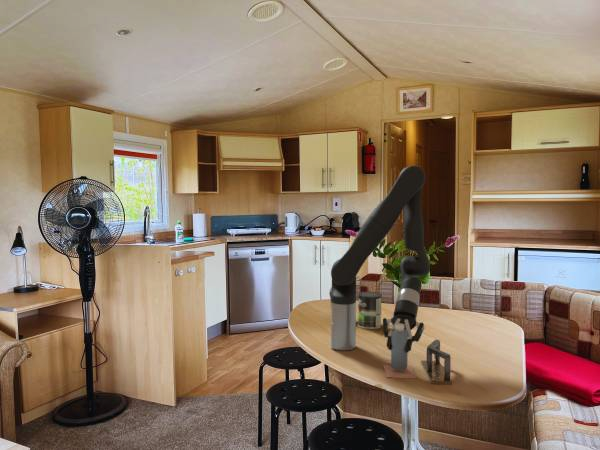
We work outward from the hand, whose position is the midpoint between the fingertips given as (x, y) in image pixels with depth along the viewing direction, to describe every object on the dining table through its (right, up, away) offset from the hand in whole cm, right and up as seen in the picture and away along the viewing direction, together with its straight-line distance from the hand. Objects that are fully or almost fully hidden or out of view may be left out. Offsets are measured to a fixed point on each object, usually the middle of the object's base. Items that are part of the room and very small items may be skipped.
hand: (398, 349), depth 149 cm
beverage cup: (-14, -3, +67) cm, 68 cm away
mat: (+1, -8, +2) cm, 8 cm away
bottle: (+1, -6, +2) cm, 6 cm away
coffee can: (-1, -4, +54) cm, 54 cm away
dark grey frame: (+12, -8, +1) cm, 14 cm away
